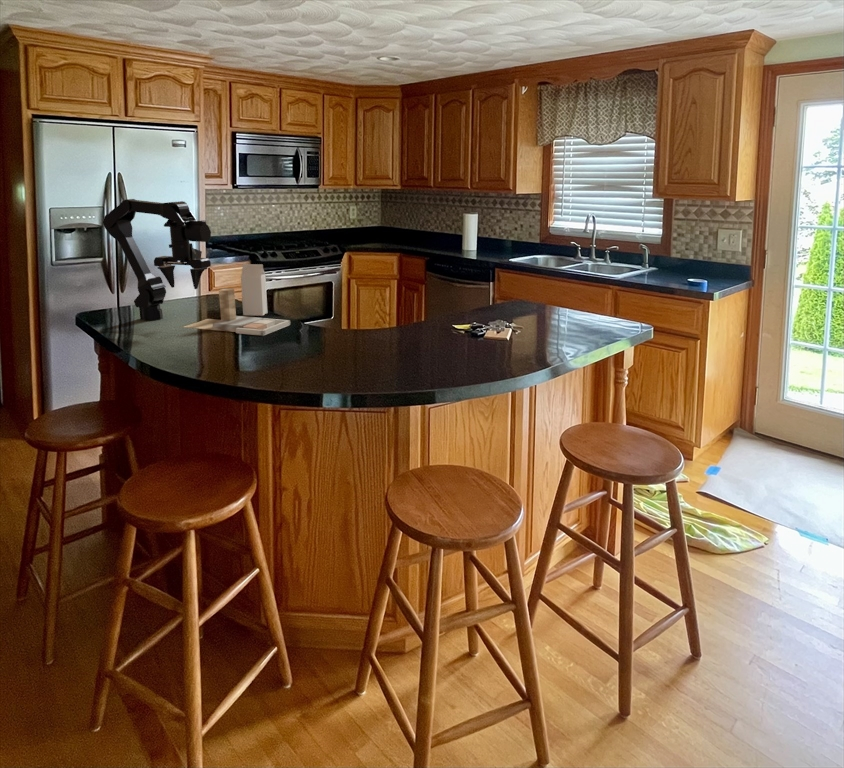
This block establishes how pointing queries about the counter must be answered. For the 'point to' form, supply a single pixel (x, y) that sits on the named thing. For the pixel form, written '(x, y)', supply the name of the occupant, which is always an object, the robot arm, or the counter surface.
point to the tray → (268, 330)
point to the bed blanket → (231, 313)
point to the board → (204, 324)
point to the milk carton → (253, 289)
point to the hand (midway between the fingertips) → (184, 288)
